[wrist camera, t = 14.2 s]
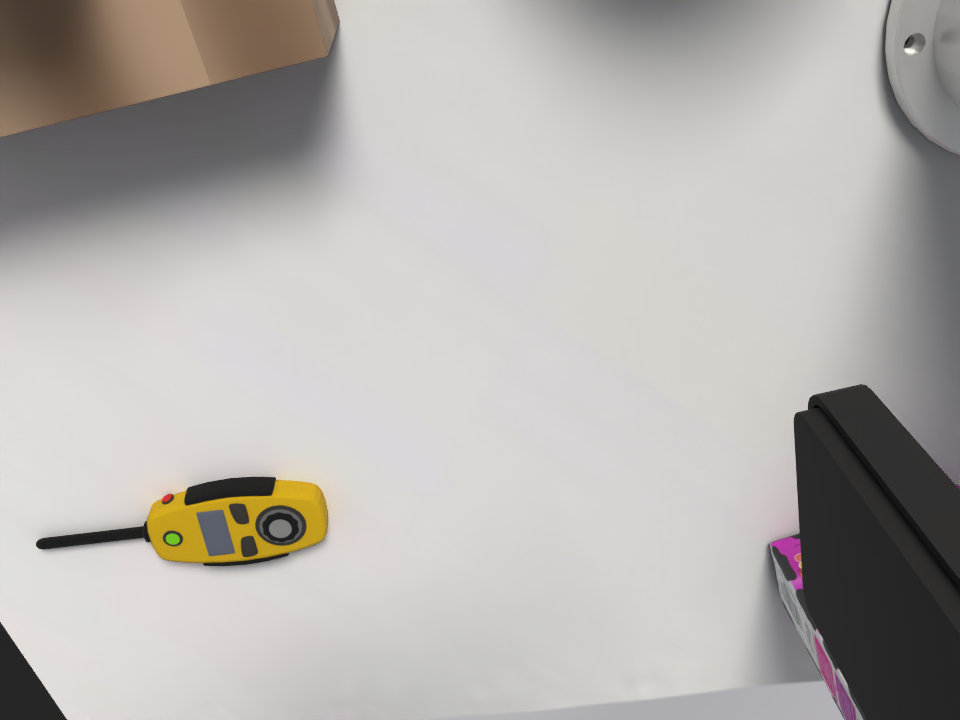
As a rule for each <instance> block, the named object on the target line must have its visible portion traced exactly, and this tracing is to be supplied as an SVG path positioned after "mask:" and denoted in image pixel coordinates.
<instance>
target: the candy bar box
mask: <svg viewBox="0 0 960 720" xmlns="http://www.w3.org/2000/svg"><path fill="white" fill-rule="evenodd" d="M956 487H957V488H959V487H960V486H958V485H957V486H956ZM769 545H770V550H771V554H772V558H773V563H774V567H775V572H776V577H777V583H778V588H779V592H780V597H781V600H782V602H783V604H784V606H785V608H786V610H787V612H788V614H789V616H790V618H791V620H792V622H793V624H794V625H795V627H796V629H797V631H798V633H799V634H800V636H801V638H802V640H803V642H804V644H805V646H806V648H807V650H808V652H809V654H810V656H811V658H812V659H813V661H814V663H815V665H816V667H817V668H818V670H819V672H820V674H821V676H822V678H823V679H824V681H825V683H826V685H827V687H828V689H829V691H830V693H831V695H832V697H833V699H834V701H835V703H836V704H837V706H838V708H839V710H840V712H841V714H842V716H843V717H844V719H845V720H866V718H865V716H864V714H863V712H862V710H861V708H860V707H859V705H858V703H857V701H856V699H855V697H854V696H853V694H852V692H851V690H850V688H849V686H848V684H847V683H846V681H845V679H844V677H843V675H842V673H841V671H840V670H839V668H838V666H837V664H836V662H835V660H834V659H833V657H832V655H831V653H830V651H829V649H828V647H827V646H826V644H825V642H824V640H823V638H822V636H821V634H820V633H819V631H818V629H817V627H816V625H815V623H814V621H813V619H812V617H811V615H810V613H809V610H808V607H807V604H806V601H805V596H804V592H803V582H802V564H801V545H800V534H797V535H794V536H791V537H788V538H784V539H781V540H778V541H774V542H771V543H770V544H769Z"/></svg>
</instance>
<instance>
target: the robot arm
mask: <svg viewBox="0 0 960 720" xmlns="http://www.w3.org/2000/svg"><path fill="white" fill-rule="evenodd" d="M908 37H909V42H908V43H907V44H906V45H905V41H906V40H907V38H908ZM904 45H905V46H904ZM885 54H886V62H887V69H888V76H889V81H890V84H891V86H892V89H893V92H894V94H895V97H896V100H897V103H898V104H899V106H900V108H901V109H902V111H903V112H904V114H905V115H906V117H907V118H908V120H909V121H910V123H911V124H912V125H913V126H914V127H915V128H917V129H918V130H919V131H920V132H921V133H922V134H923V135H924V136H925V137H926V138H927V139H929V140H931V141H932V142H934V143H936V144H938V145H939V146H941V147H943V148H944V149H946V150H948V151H950V152H952V153H955V154H957V155H959V156H960V0H892V2H891V6H890V10H889V15H888V19H887V27H886V46H885ZM794 436H795V454H796V472H797V490H798V509H799V527H800V545H801V564H802V582H803V592H804V596H805V601H806V604H807V607H808V610H809V613H810V615H811V617H812V619H813V621H814V623H815V625H816V627H817V629H818V631H819V633H820V634H821V636H822V638H823V640H824V642H825V644H826V646H827V647H828V649H829V651H830V653H831V655H832V657H833V659H834V660H835V662H836V664H837V666H838V668H839V670H840V671H841V673H842V675H843V677H844V679H845V681H846V683H847V684H848V686H849V688H850V690H851V692H852V694H853V696H854V697H855V699H856V701H857V703H858V705H859V707H860V708H861V710H862V712H863V714H864V716H865V718H866V720H960V487H959V488H957V487H956V485H955V484H954V483H953V482H952V481H951V480H950V479H949V477H948V476H947V475H946V474H945V473H944V472H943V471H942V469H941V468H940V467H939V466H938V465H937V464H936V463H935V462H934V460H933V459H932V458H931V457H930V456H929V455H928V454H927V452H926V451H925V450H924V449H923V448H922V447H921V446H920V444H919V443H918V442H917V441H916V440H915V439H914V438H913V437H912V435H911V434H910V433H909V432H908V431H907V430H906V429H905V427H904V426H903V425H902V424H901V423H900V422H899V421H898V420H897V418H896V417H895V416H894V415H893V414H892V413H891V412H890V410H889V409H888V408H887V407H886V406H885V405H884V404H883V402H882V401H881V400H880V399H879V398H878V397H877V396H876V395H875V393H874V392H873V391H872V390H871V389H870V388H869V387H867V386H866V385H862V384H860V385H856V386H852V387H847V388H843V389H838V390H834V391H830V392H825V393H821V394H816V395H813V396H812V397H810V399H809V403H808V410H806V411H801V412H797V413H796V414H795V417H794ZM0 720H67V719H66V718H65V716H64V715H63V713H62V712H61V710H60V709H59V707H58V706H57V704H56V703H55V701H54V700H53V699H52V697H51V696H50V694H49V693H48V691H47V690H46V688H45V687H44V685H43V684H42V682H41V681H40V680H39V678H38V677H37V675H36V674H35V672H34V671H33V669H32V668H31V666H30V665H29V663H28V662H27V661H26V659H25V658H24V656H23V655H22V653H21V652H20V650H19V649H18V647H17V646H16V644H15V643H14V641H13V640H12V639H11V637H10V636H9V634H8V633H7V631H6V630H5V628H4V627H3V625H2V624H1V622H0Z"/></svg>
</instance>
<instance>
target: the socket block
mask: <svg viewBox="0 0 960 720" xmlns="http://www.w3.org/2000/svg"><path fill="white" fill-rule="evenodd" d="M339 22H340V20H339V17H338V13H337V10H336V6H335V3H334V0H0V137H3V136H7V135H11V134H15V133H19V132H23V131H27V130H31V129H35V128H39V127H44V126H48V125H52V124H56V123H60V122H64V121H68V120H72V119H76V118H80V117H84V116H88V115H92V114H96V113H100V112H104V111H108V110H112V109H116V108H120V107H124V106H128V105H132V104H136V103H140V102H144V101H148V100H153V99H157V98H161V97H165V96H169V95H173V94H177V93H181V92H185V91H189V90H193V89H197V88H201V87H205V86H209V85H213V84H217V83H221V82H225V81H229V80H233V79H237V78H241V77H245V76H249V75H253V74H257V73H261V72H266V71H270V70H274V69H278V68H282V67H286V66H290V65H294V64H298V63H302V62H306V61H310V60H314V59H318V58H322V57H326V56H328V54H329V51H330V48H331V46H332V43H333V40H334V37H335V34H336V31H337V28H338V25H339Z"/></svg>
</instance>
